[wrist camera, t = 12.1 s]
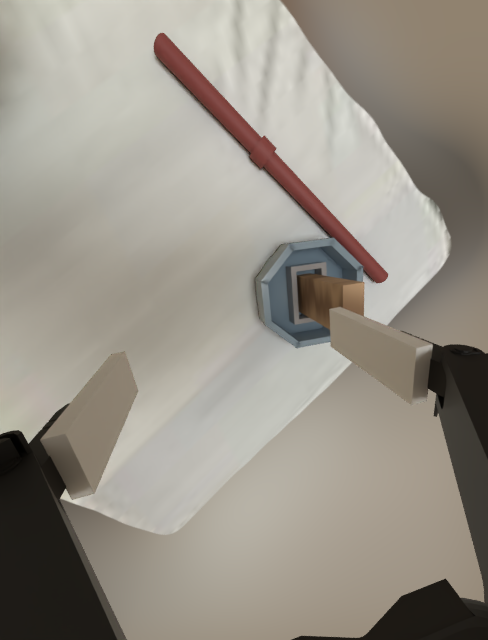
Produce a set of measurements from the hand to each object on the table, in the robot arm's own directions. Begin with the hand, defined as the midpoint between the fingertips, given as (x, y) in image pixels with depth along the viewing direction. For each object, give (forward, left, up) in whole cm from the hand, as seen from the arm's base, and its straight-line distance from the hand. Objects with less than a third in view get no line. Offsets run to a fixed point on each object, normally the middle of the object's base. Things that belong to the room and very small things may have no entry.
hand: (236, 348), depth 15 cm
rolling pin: (-15, +13, -25) cm, 32 cm away
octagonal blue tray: (+2, +14, -24) cm, 28 cm away
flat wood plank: (+2, +14, -23) cm, 28 cm away
